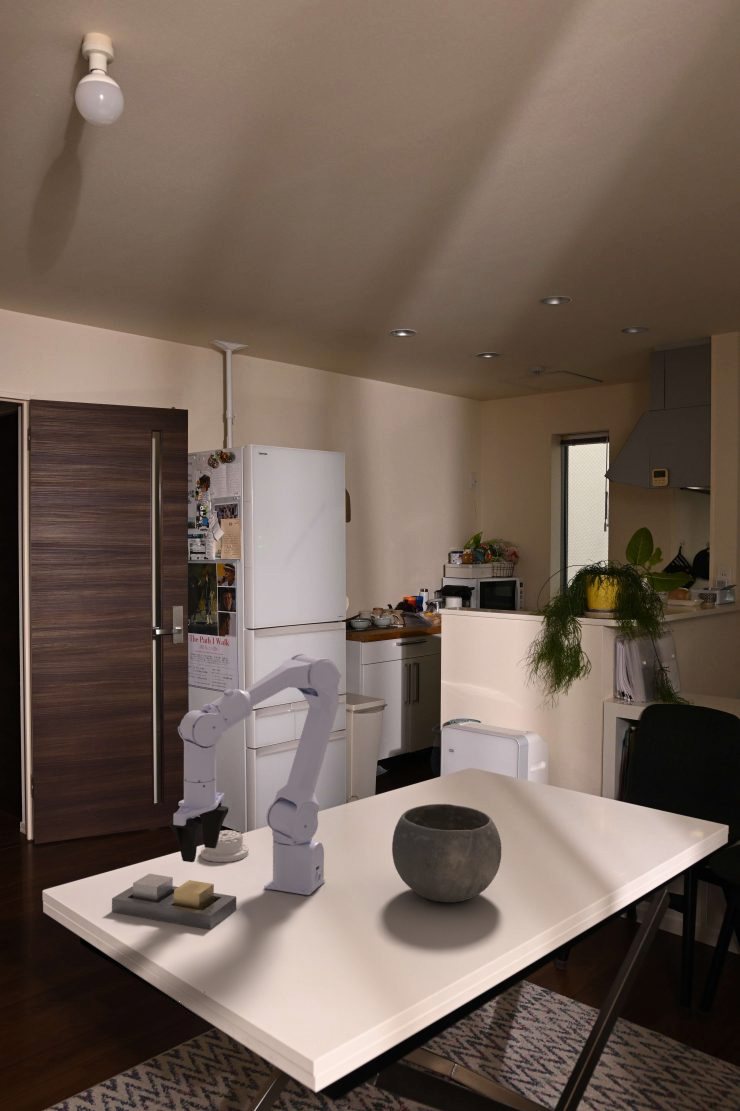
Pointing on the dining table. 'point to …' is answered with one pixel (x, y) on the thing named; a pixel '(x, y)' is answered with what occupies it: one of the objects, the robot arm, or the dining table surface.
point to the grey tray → (175, 909)
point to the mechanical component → (226, 848)
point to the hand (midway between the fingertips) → (199, 854)
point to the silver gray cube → (153, 888)
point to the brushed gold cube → (194, 895)
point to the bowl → (446, 851)
